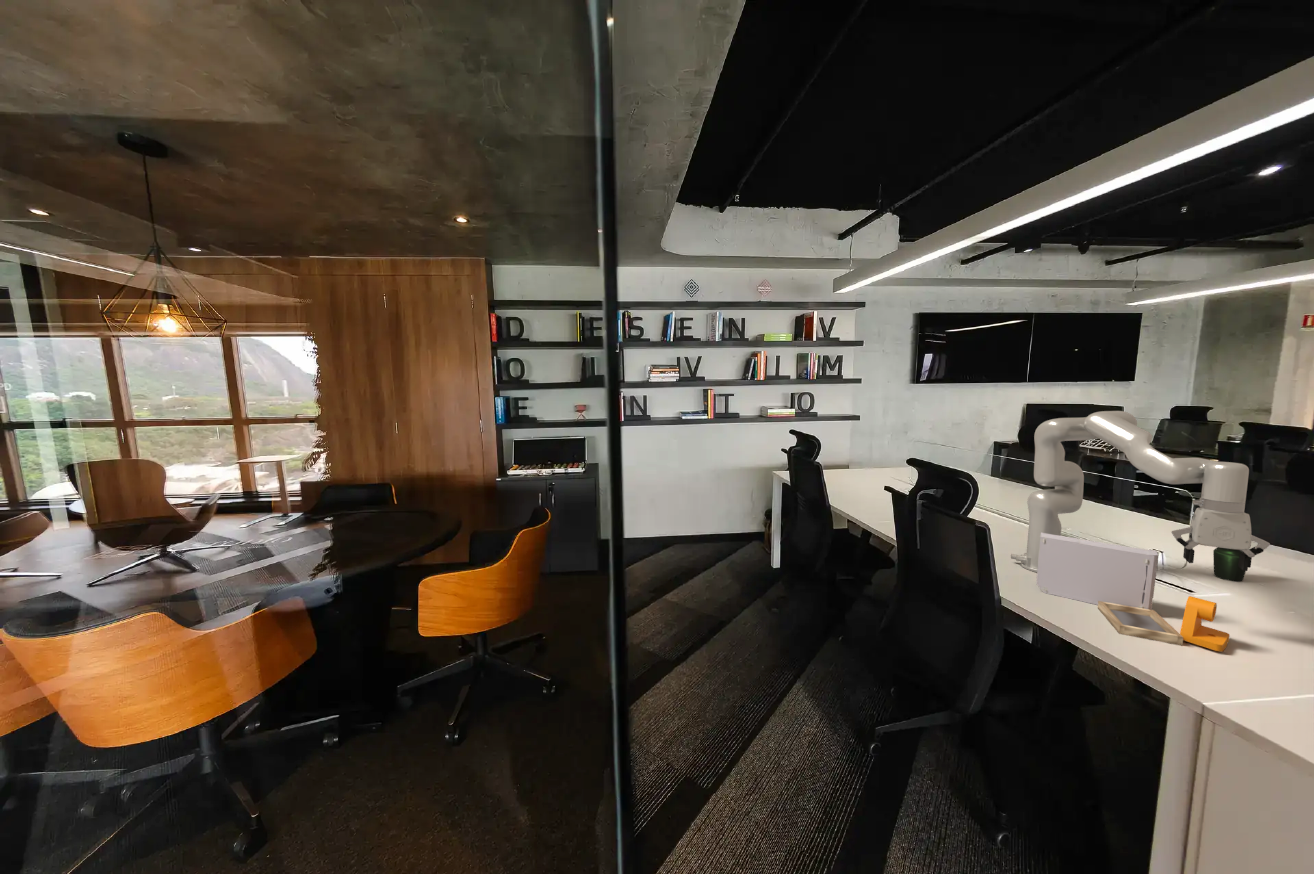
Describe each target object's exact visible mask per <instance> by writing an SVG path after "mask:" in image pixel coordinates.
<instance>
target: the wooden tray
mask: <svg viewBox="0 0 1314 874" xmlns="http://www.w3.org/2000/svg"><path fill="white" fill-rule="evenodd" d="M1097 609H1098V610H1099V612H1100V613H1101V614H1102V615H1103V616H1104V618H1105V619H1106V620H1107V621H1108V623H1109V624H1110V625H1111V626H1112V627H1113V628H1114V630H1116V632H1117V633H1118V634H1119V635H1125V636H1130V637H1136V638H1139V639H1140V638H1141V639H1144V640H1145V639H1146V640H1149V641H1150V640H1151V641H1156V642H1162V643H1166V644H1171V645H1176V646H1181V647H1183V642H1184V640H1183V637H1182V636H1181V635H1180V632H1178V631H1177V630H1176V629H1175V628H1174V627H1173V626H1172V625H1171V624H1169V623H1168V622H1167V621H1166V620H1165V619H1164V618H1163V617H1162V616H1161V615H1160V614H1159V613H1158V612H1157V611H1156V610H1155V609H1152V610H1149V609H1143V608H1137V607H1131V606H1125V605H1119V604H1114V603H1108V602H1102V601H1098V605H1097Z"/></svg>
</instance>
